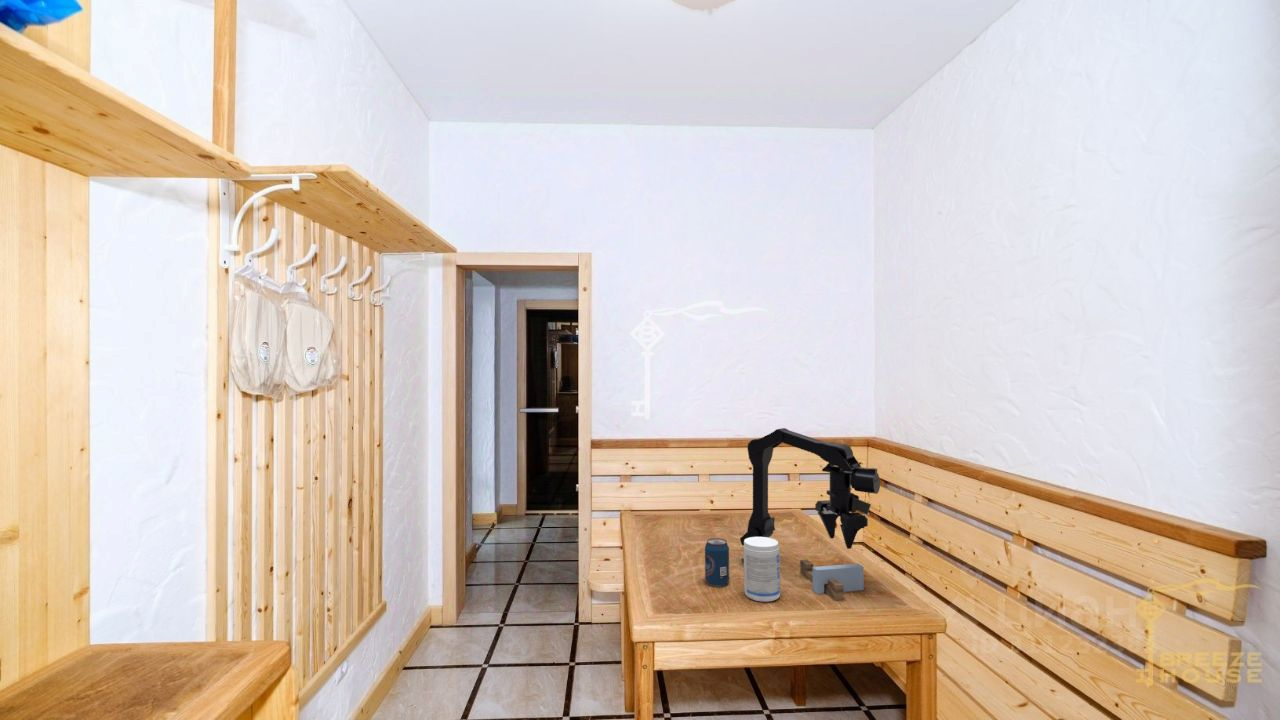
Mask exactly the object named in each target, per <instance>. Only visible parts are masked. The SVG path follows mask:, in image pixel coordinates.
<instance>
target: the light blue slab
mask: <svg viewBox="0 0 1280 720" xmlns="http://www.w3.org/2000/svg"><path fill="white" fill-rule="evenodd" d="M831 579H836V580H837V581H839V582H840V583H842V584H843V591H844V593H845V592H858V590H859V591H864V582H865V581H864V566H863V565H861V564H860V563H850V564H847V563H846V564H838V565H822V566H813V583H812V591H813V593H815V594H816V595H825V592H824V584H828V580H831Z"/></svg>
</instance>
